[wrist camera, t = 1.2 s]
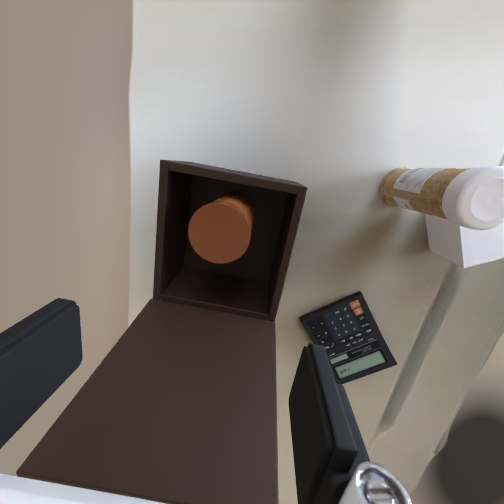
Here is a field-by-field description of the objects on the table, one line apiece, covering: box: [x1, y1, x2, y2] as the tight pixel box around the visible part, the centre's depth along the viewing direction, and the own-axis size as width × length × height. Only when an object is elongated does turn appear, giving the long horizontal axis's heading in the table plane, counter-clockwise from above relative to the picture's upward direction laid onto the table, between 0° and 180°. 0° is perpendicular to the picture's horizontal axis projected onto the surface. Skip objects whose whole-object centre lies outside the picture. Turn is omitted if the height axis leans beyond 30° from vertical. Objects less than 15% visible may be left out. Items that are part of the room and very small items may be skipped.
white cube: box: [425, 214, 504, 268], centre depth 28 cm, size 6×6×6 cm
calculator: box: [300, 291, 397, 384], centre depth 36 cm, size 9×12×3 cm
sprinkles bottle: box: [380, 166, 504, 230], centre depth 24 cm, size 5×5×14 cm
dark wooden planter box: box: [153, 160, 307, 322], centre depth 29 cm, size 15×14×9 cm
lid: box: [16, 299, 279, 504], centre depth 21 cm, size 15×14×5 cm
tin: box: [188, 191, 256, 264], centre depth 26 cm, size 5×5×12 cm
